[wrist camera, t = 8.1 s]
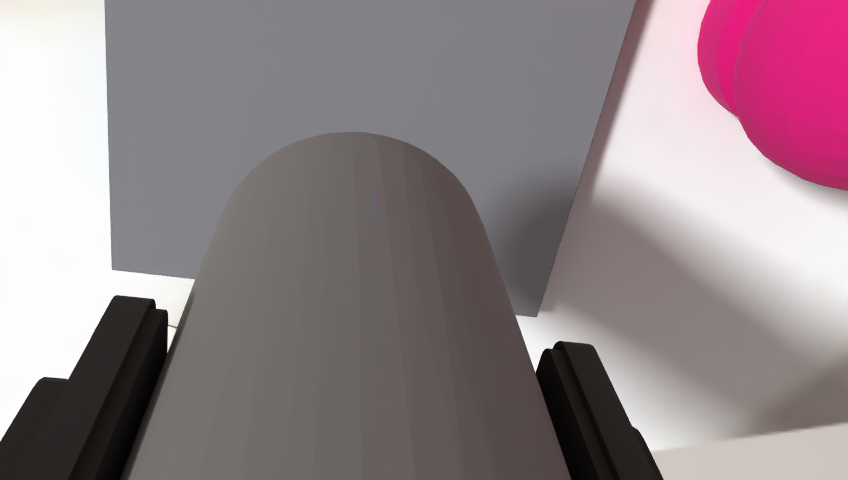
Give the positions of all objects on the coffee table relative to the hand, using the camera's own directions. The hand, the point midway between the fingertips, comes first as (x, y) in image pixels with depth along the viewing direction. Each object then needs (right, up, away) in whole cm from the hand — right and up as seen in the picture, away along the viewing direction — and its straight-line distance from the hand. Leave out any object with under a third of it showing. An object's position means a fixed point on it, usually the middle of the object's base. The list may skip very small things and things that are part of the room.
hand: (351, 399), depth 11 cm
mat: (-1, +7, +13) cm, 15 cm away
